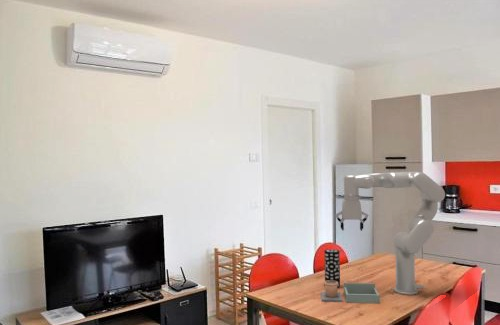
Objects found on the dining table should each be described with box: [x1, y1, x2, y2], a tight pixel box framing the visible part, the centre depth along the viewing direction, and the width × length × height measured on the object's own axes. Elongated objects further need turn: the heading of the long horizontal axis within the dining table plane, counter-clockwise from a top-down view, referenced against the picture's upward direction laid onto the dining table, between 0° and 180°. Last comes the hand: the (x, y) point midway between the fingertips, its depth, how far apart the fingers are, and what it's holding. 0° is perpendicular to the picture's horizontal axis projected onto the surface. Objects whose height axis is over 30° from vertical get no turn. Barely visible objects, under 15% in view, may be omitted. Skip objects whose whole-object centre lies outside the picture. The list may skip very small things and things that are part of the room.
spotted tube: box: [324, 248, 341, 289], centre depth 230 cm, size 8×8×20 cm
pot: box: [323, 280, 338, 298], centre depth 211 cm, size 7×7×7 cm
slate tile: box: [320, 291, 343, 303], centre depth 211 cm, size 10×12×1 cm
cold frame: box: [343, 282, 381, 304], centre depth 209 cm, size 16×13×6 cm
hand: (351, 230), depth 219 cm, fingers open, 9 cm apart
